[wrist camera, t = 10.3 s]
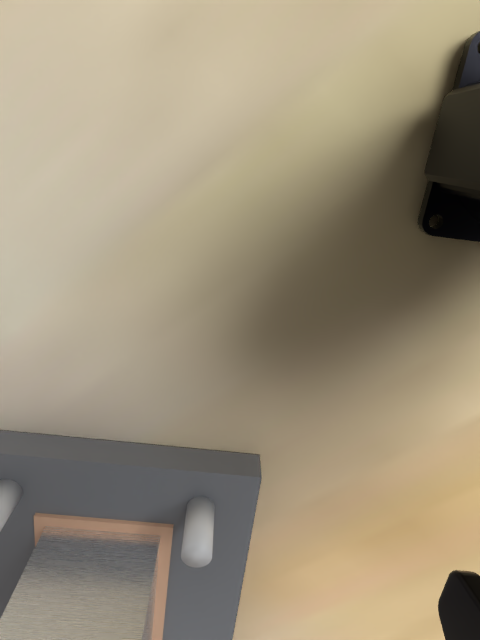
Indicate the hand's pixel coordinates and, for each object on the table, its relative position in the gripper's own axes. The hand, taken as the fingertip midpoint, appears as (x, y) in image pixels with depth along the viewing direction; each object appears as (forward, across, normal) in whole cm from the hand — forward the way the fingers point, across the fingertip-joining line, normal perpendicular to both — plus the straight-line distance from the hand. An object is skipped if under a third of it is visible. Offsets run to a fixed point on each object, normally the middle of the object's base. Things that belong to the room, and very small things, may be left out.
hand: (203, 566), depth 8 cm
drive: (+9, +4, +14) cm, 17 cm away
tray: (+11, +4, +14) cm, 18 cm away
